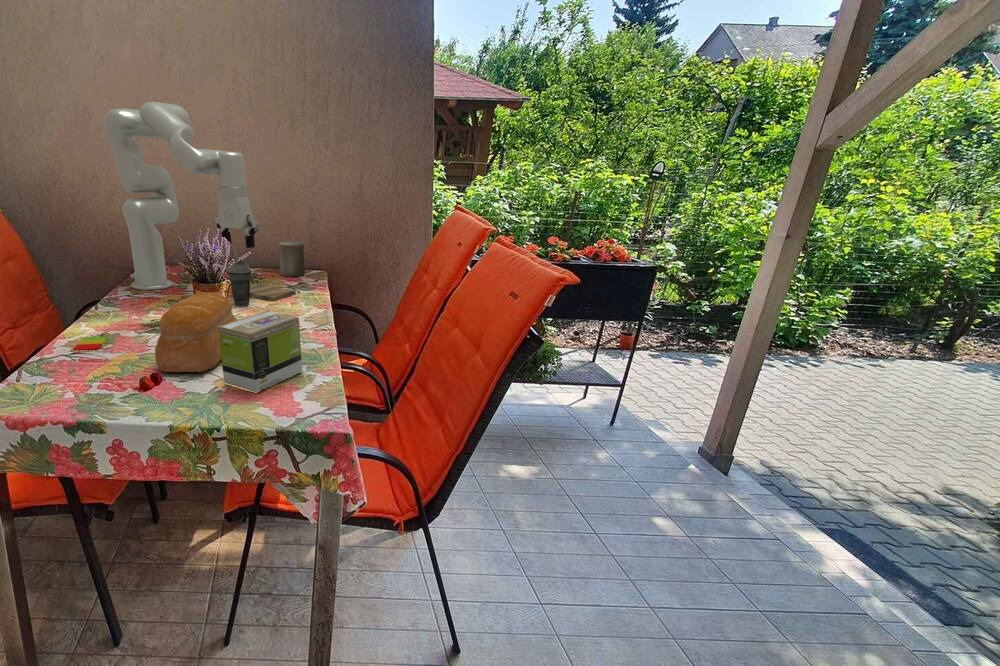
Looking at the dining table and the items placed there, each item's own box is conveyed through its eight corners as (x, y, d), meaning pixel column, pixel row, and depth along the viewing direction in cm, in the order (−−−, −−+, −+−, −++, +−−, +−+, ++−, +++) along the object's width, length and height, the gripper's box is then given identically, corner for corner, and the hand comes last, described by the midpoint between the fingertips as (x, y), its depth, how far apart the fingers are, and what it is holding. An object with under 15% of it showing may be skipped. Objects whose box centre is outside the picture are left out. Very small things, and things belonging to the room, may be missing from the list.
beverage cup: (242, 309, 176) (238, 249, 170) (225, 305, 178) (220, 246, 172) (258, 304, 183) (254, 246, 177) (241, 301, 185) (237, 244, 179)
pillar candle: (309, 276, 227) (307, 241, 223) (287, 278, 220) (285, 242, 216) (298, 271, 234) (296, 237, 229) (276, 273, 227) (274, 238, 222)
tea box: (272, 364, 135) (268, 309, 130) (303, 373, 132) (301, 316, 127) (222, 385, 122) (216, 324, 117) (255, 395, 118) (251, 332, 114)
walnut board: (232, 293, 192) (232, 289, 192) (257, 287, 203) (256, 283, 203) (272, 301, 187) (272, 297, 187) (295, 294, 198) (295, 290, 198)
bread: (244, 339, 151) (240, 287, 146) (212, 375, 126) (206, 315, 122) (193, 338, 148) (187, 285, 144) (150, 375, 124) (141, 313, 119)
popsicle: (72, 356, 131) (71, 349, 131) (90, 336, 144) (89, 330, 144) (99, 355, 133) (97, 348, 133) (114, 335, 147) (113, 329, 146)
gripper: (203, 190, 168) (208, 244, 173) (246, 195, 163) (251, 250, 168) (222, 190, 175) (227, 242, 180) (264, 194, 170) (268, 247, 175)
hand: (238, 246), depth 174 cm, fingers open, 9 cm apart
